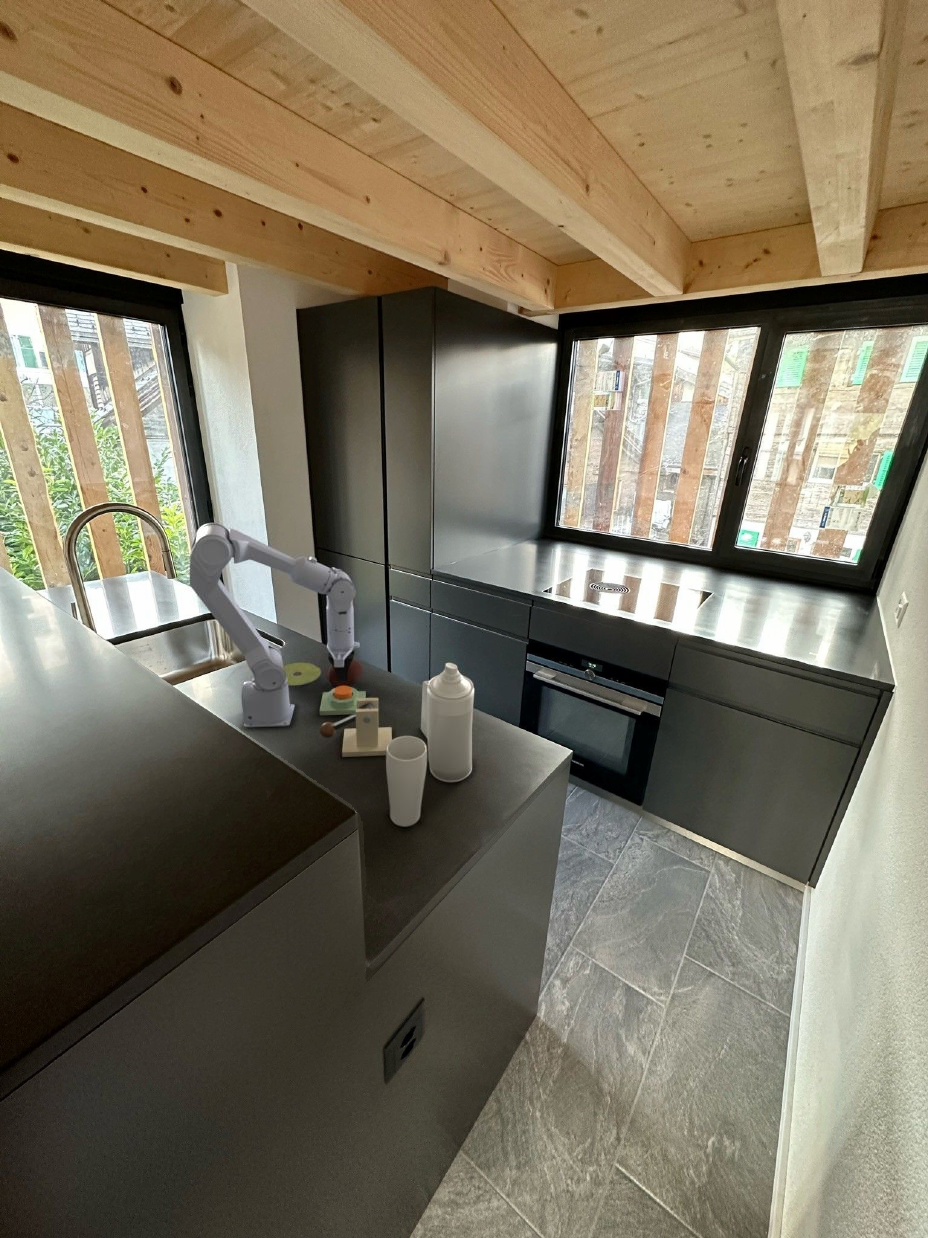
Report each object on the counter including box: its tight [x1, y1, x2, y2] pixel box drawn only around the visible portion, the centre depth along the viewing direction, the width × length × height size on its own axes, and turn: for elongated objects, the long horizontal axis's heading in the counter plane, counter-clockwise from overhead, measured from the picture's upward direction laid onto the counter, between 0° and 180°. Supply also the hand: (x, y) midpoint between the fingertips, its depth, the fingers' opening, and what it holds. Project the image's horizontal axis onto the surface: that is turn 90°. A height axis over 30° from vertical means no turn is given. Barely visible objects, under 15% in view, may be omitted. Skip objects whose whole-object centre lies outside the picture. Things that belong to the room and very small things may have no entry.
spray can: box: [426, 662, 475, 783], centre depth 97 cm, size 12×11×25 cm
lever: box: [319, 702, 375, 739], centre depth 105 cm, size 12×3×3 cm, turn 97°
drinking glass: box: [385, 735, 428, 828], centre depth 88 cm, size 7×7×15 cm
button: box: [334, 686, 352, 700], centre depth 120 cm, size 4×4×2 cm
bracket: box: [341, 697, 393, 758], centre depth 106 cm, size 10×8×10 cm
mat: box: [283, 662, 322, 686], centre depth 130 cm, size 11×11×2 cm
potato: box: [326, 658, 363, 688], centre depth 129 cm, size 7×10×6 cm
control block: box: [319, 686, 367, 716], centre depth 120 cm, size 10×8×3 cm
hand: (342, 679), depth 118 cm, fingers closed
